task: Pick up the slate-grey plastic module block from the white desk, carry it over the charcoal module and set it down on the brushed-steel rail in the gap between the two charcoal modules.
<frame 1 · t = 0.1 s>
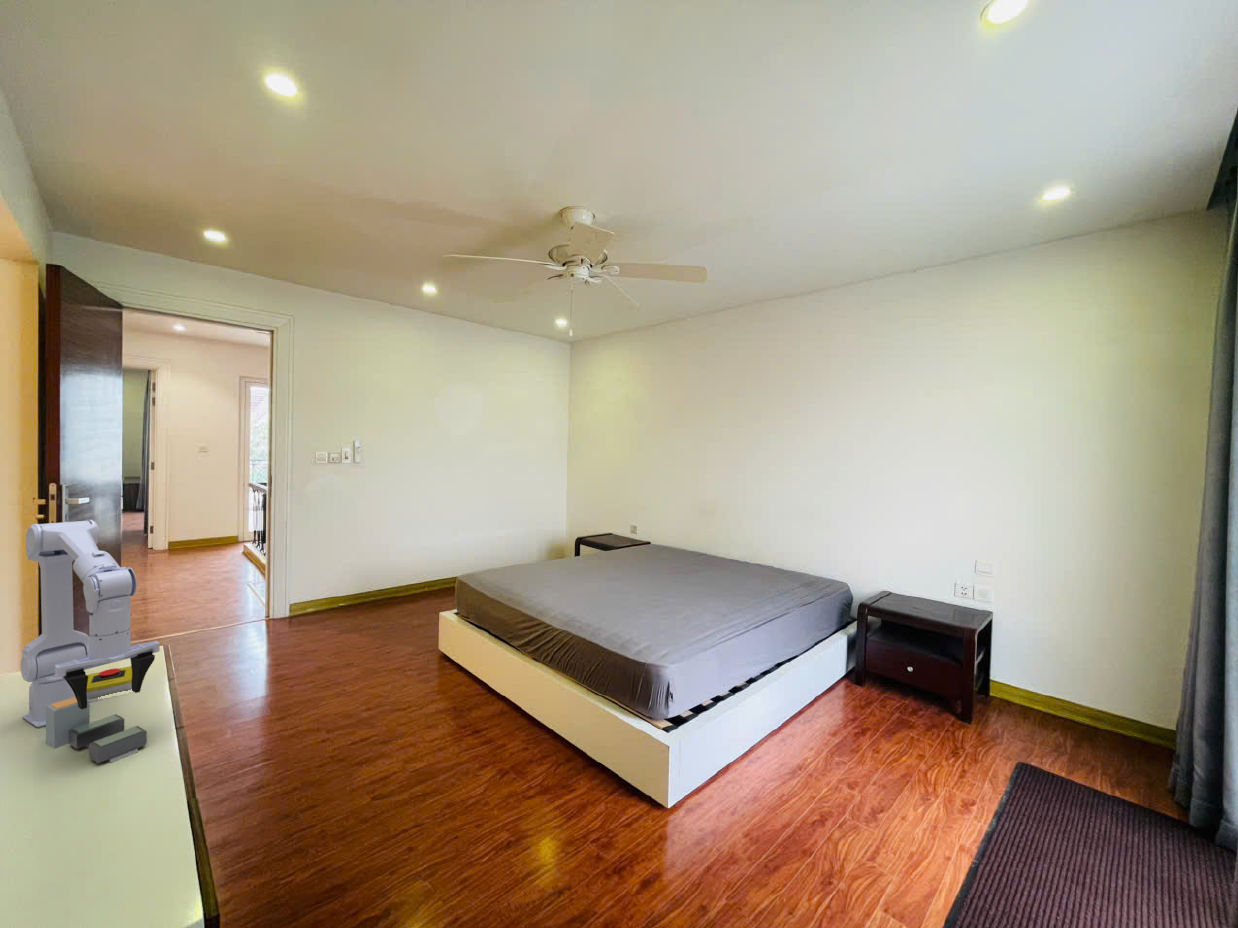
hand: (110, 699, 98), 10 cm above the table, fingers open, 7 cm apart
module block: (67, 739, 102), on the table
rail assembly: (107, 747, 99), on the table
emergency button: (109, 691, 124), on the table
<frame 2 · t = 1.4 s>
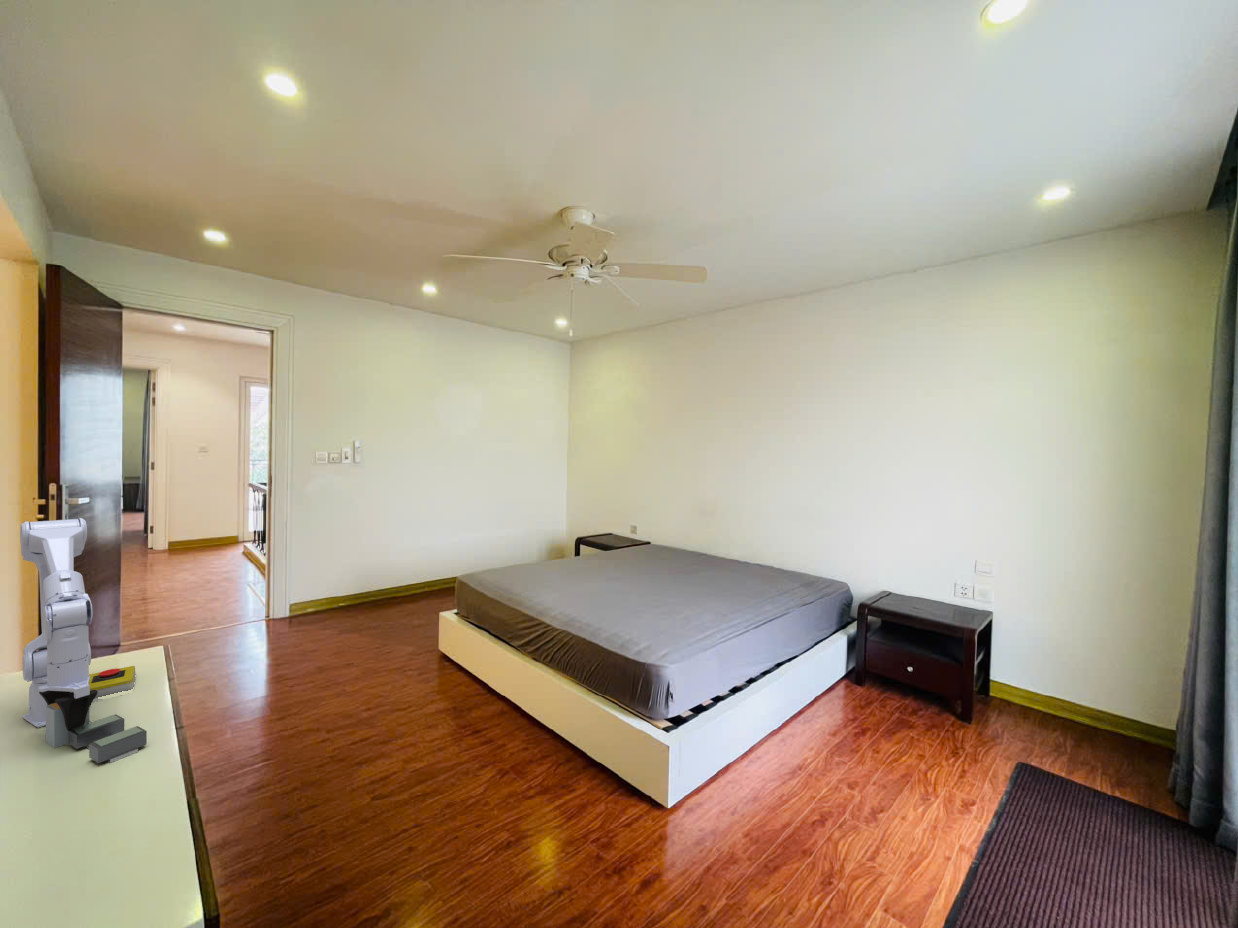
hand: (68, 724, 101), 3 cm above the table, fingers open, 6 cm apart
nothing on the table moved.
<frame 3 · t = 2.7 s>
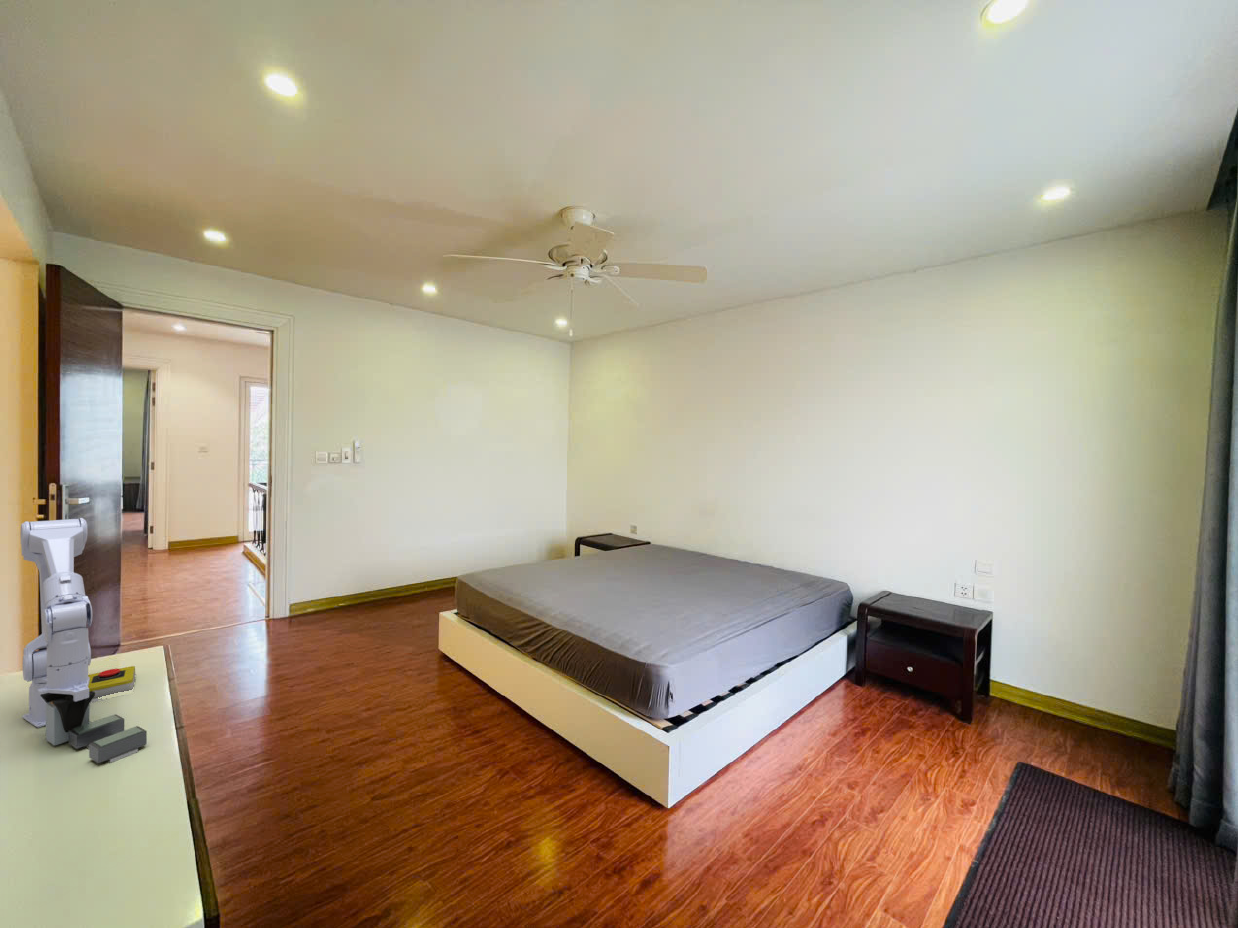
hand: (67, 726, 102), 3 cm above the table, fingers closed on module block, 4 cm apart
module block: (67, 736, 102), on the table, touching gripper
everything else where it was.
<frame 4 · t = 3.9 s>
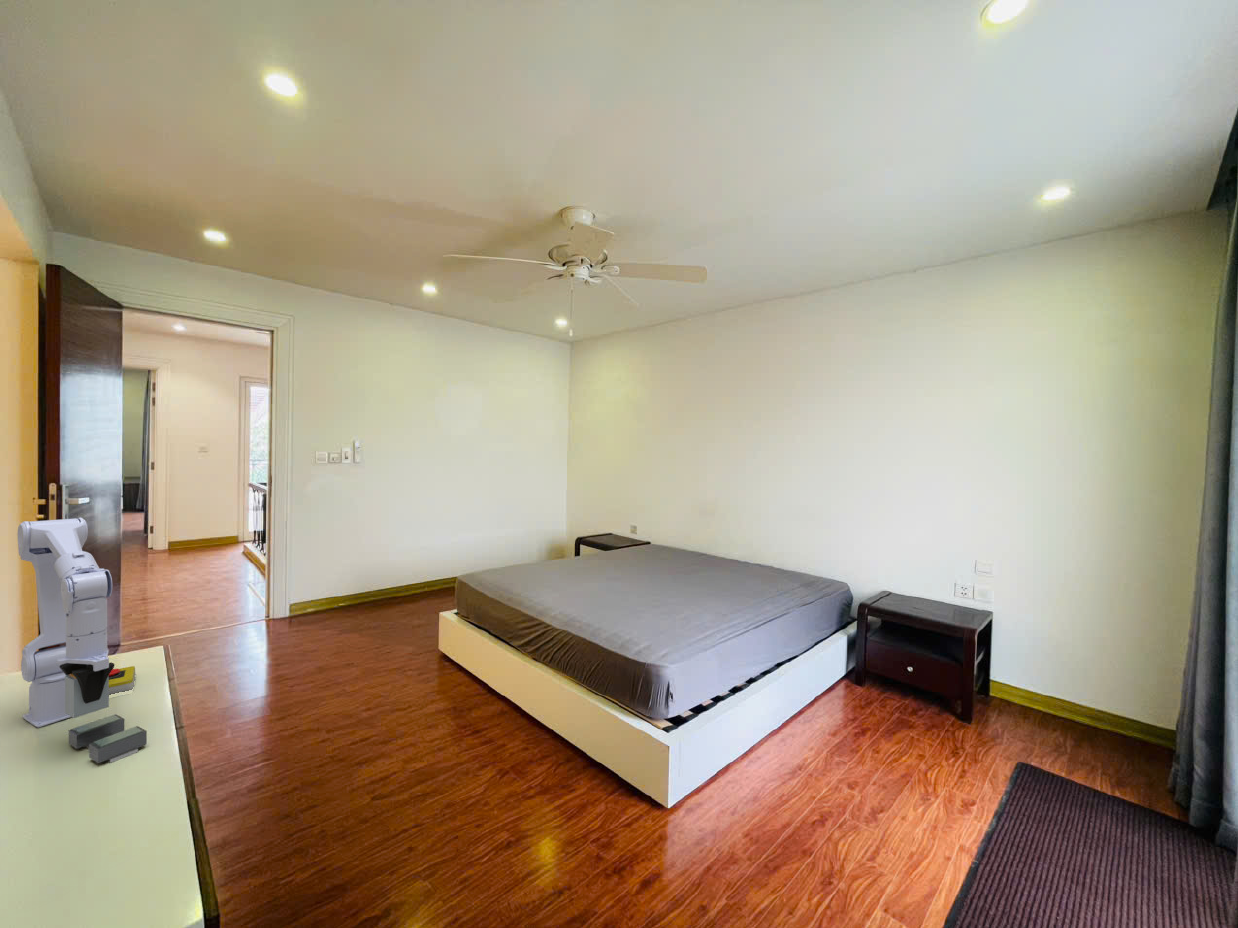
hand: (87, 698, 100), 9 cm above the table, fingers closed on module block, 4 cm apart
module block: (87, 710, 100), point 7 cm above the table, touching gripper
everything else where it was.
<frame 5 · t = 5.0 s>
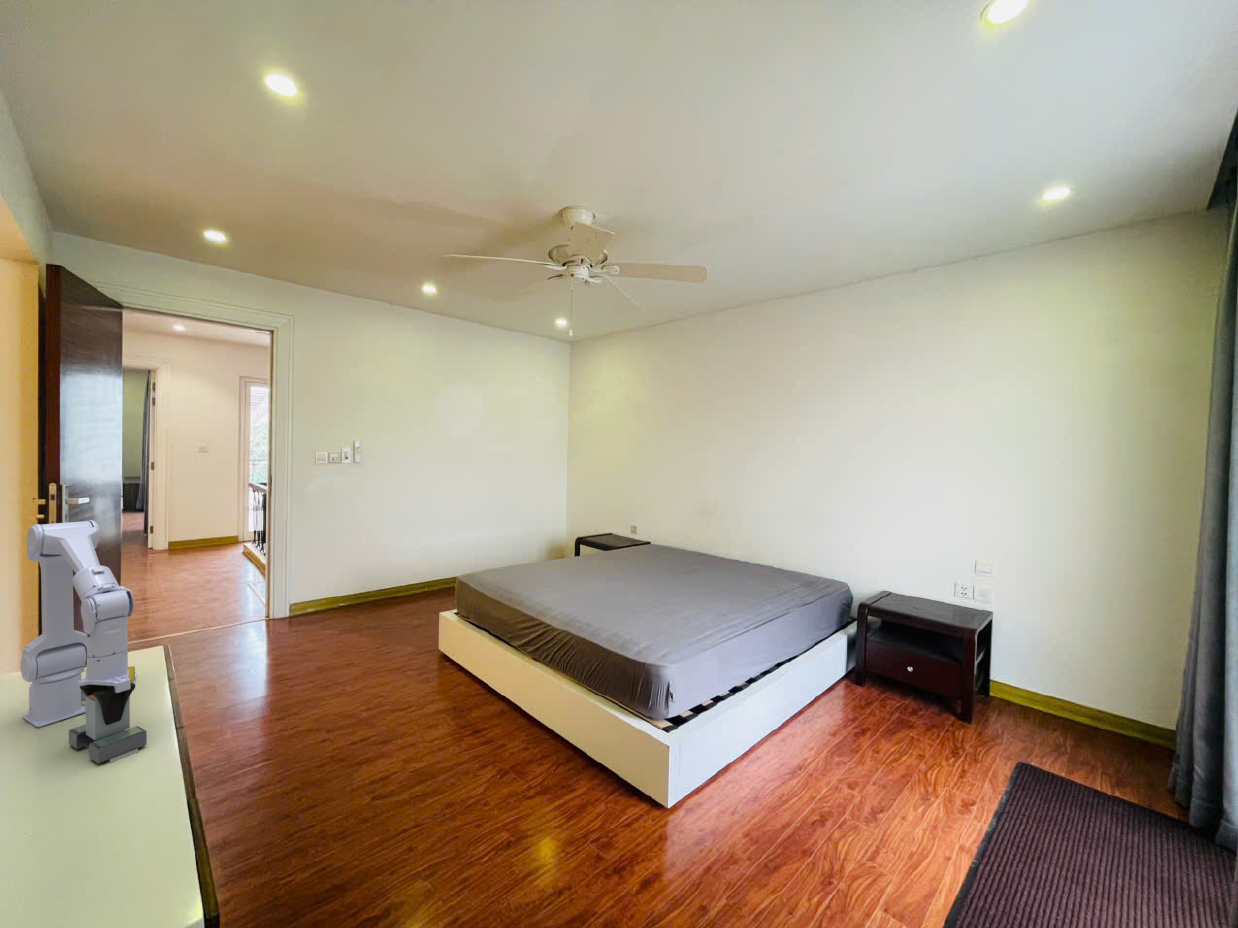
hand: (107, 719, 99), 6 cm above the table, fingers closed on module block, 4 cm apart
module block: (107, 731, 99), point 3 cm above the table, touching gripper
everything else where it was.
when the fingers open (4 cm above the table, at t = 5.7 s): module block drops 1 cm, resting on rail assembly.
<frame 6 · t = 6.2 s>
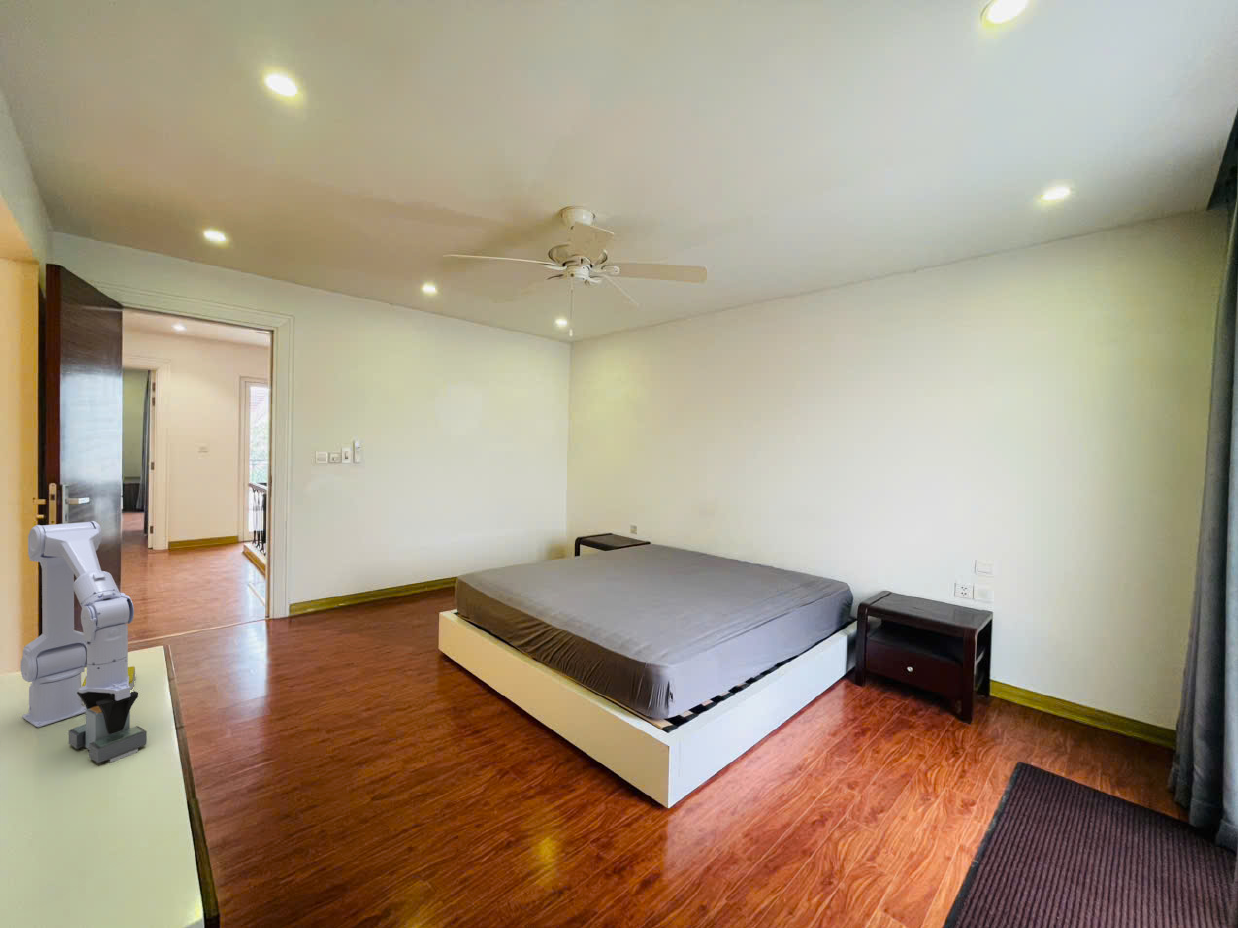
hand: (107, 726, 99), 4 cm above the table, fingers open, 7 cm apart
module block: (107, 744, 99), point 1 cm above the table, touching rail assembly
everything else where it was.
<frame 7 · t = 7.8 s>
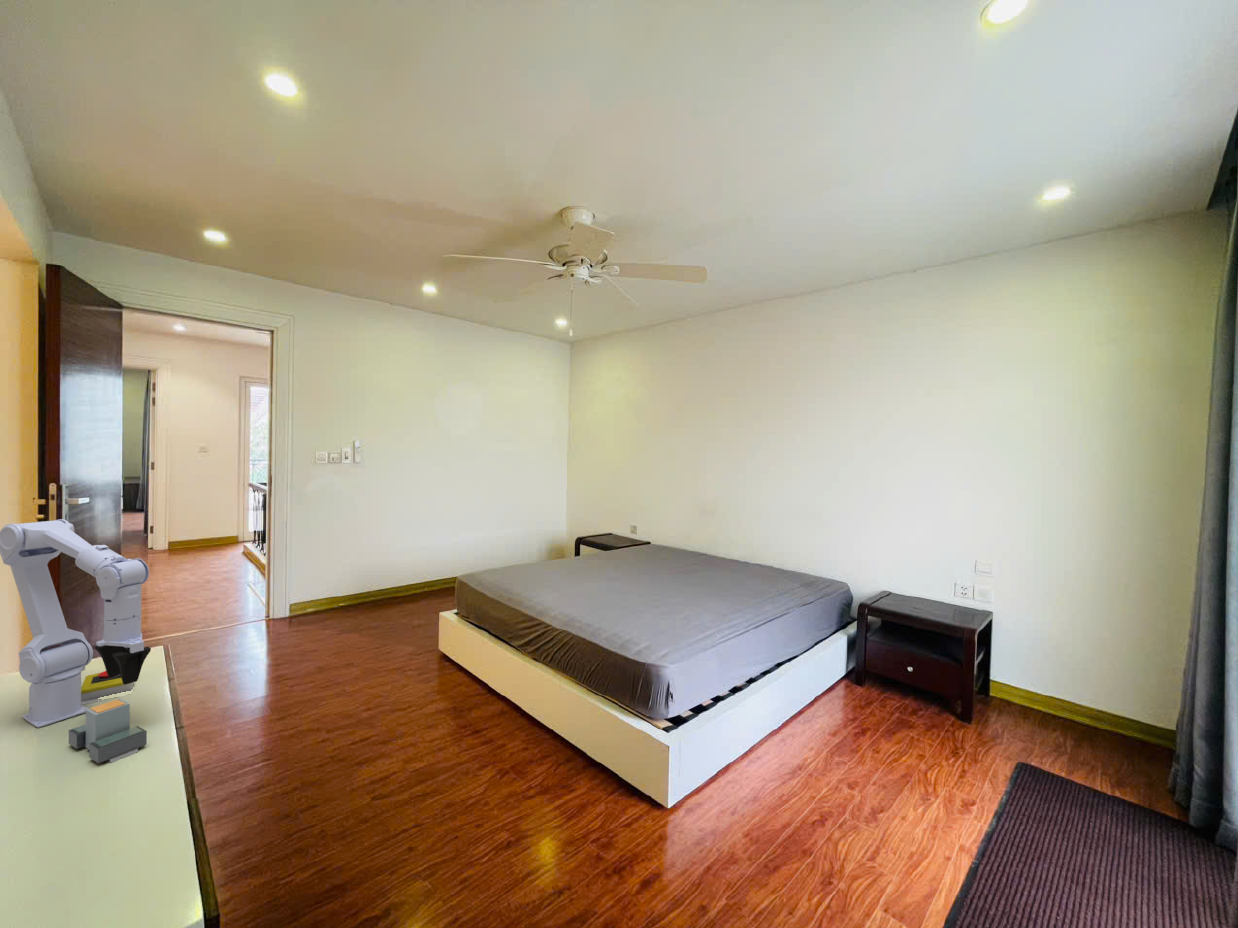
hand: (122, 678, 107), 10 cm above the table, fingers open, 7 cm apart
nothing on the table moved.
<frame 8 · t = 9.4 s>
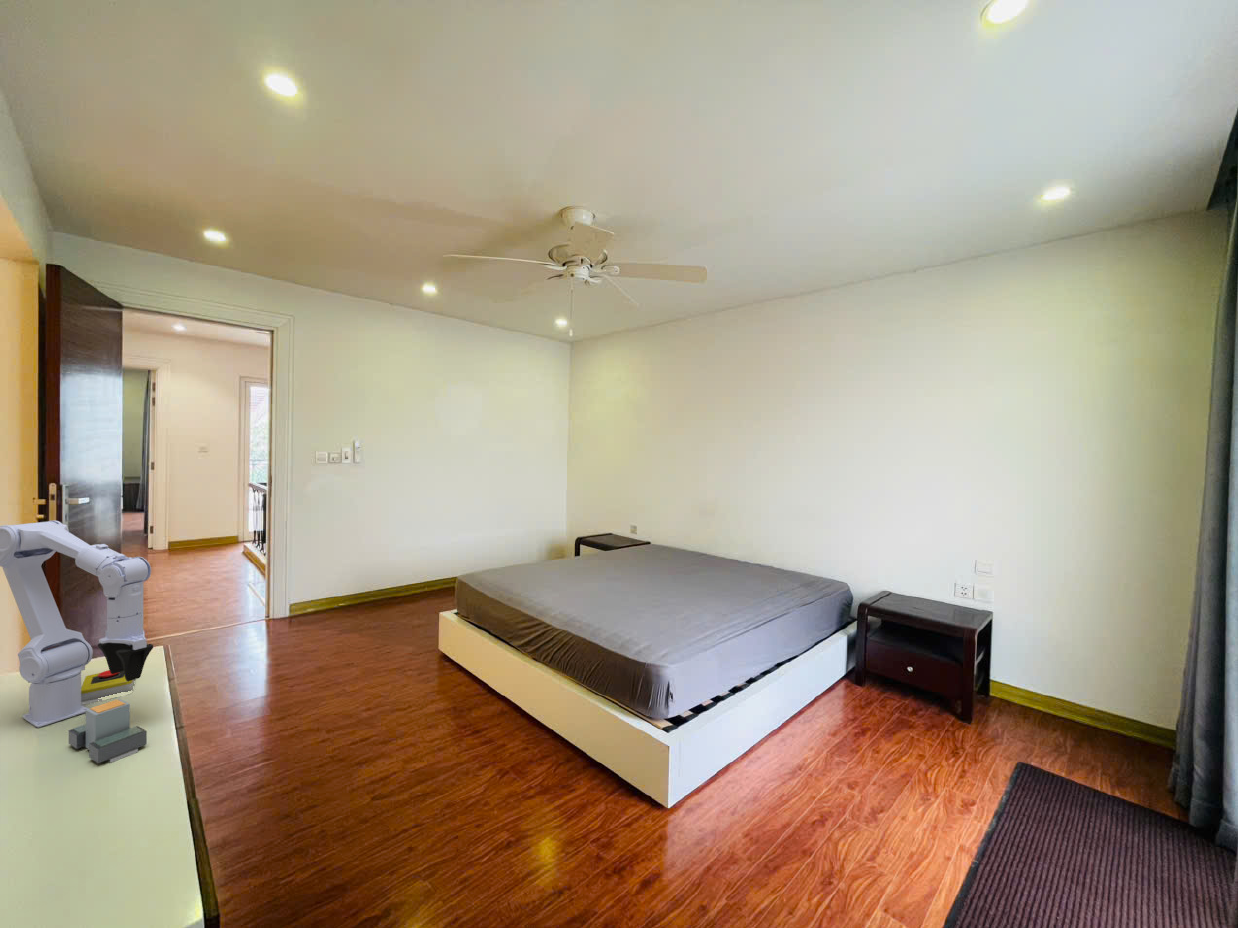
hand: (125, 675, 109), 10 cm above the table, fingers open, 7 cm apart
nothing on the table moved.
at the end: module block 0.0 cm off-centre on the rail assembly, point 0.6 cm above the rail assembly's base; module block tilted 0°; the gripper is holding nothing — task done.
